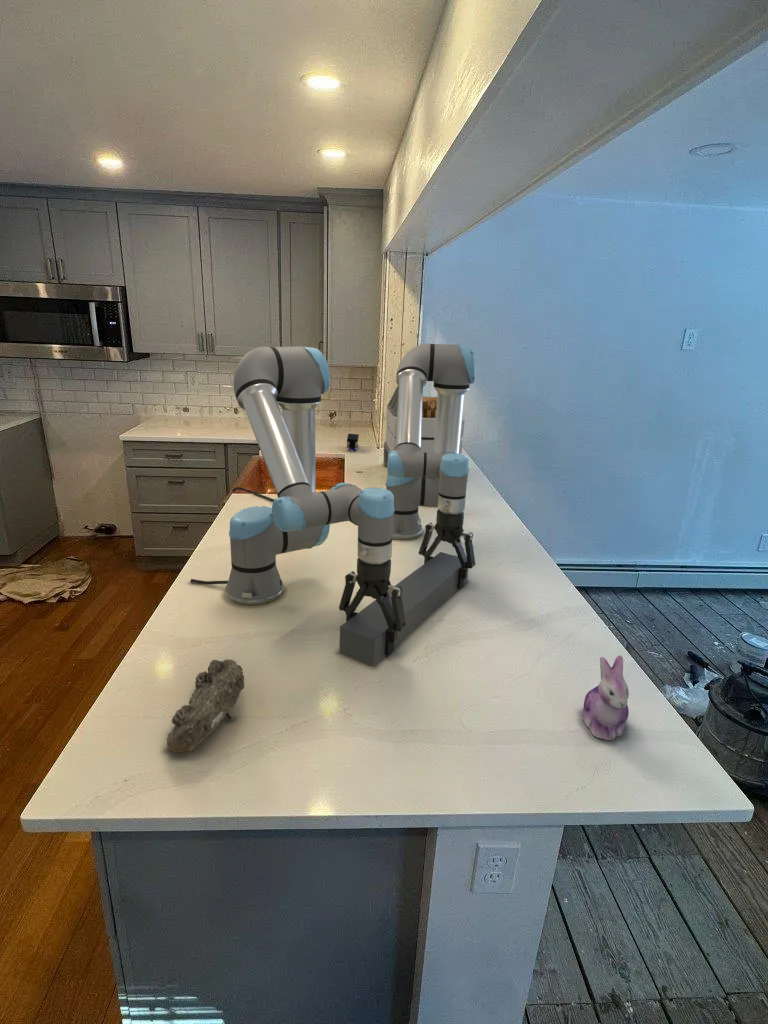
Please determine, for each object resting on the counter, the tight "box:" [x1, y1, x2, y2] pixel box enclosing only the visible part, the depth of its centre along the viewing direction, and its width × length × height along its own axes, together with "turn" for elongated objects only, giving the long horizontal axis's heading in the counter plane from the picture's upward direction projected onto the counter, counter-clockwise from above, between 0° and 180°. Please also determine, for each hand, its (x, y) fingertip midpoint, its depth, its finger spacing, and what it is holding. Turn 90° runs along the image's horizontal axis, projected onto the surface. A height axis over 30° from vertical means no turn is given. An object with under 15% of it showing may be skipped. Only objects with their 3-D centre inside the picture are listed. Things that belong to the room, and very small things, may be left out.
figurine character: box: [346, 433, 360, 452], centre depth 314 cm, size 7×8×15 cm
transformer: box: [383, 385, 465, 467], centre depth 268 cm, size 34×33×41 cm
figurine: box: [581, 654, 630, 741], centre depth 108 cm, size 9×10×15 cm
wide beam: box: [338, 551, 469, 667], centre depth 147 cm, size 52×9×7 cm, turn 149°
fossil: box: [166, 658, 245, 754], centre depth 106 cm, size 22×10×15 cm
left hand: (370, 645), depth 132 cm, fingers closed on wide beam, 9 cm apart
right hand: (444, 582), depth 164 cm, fingers closed on wide beam, 9 cm apart
